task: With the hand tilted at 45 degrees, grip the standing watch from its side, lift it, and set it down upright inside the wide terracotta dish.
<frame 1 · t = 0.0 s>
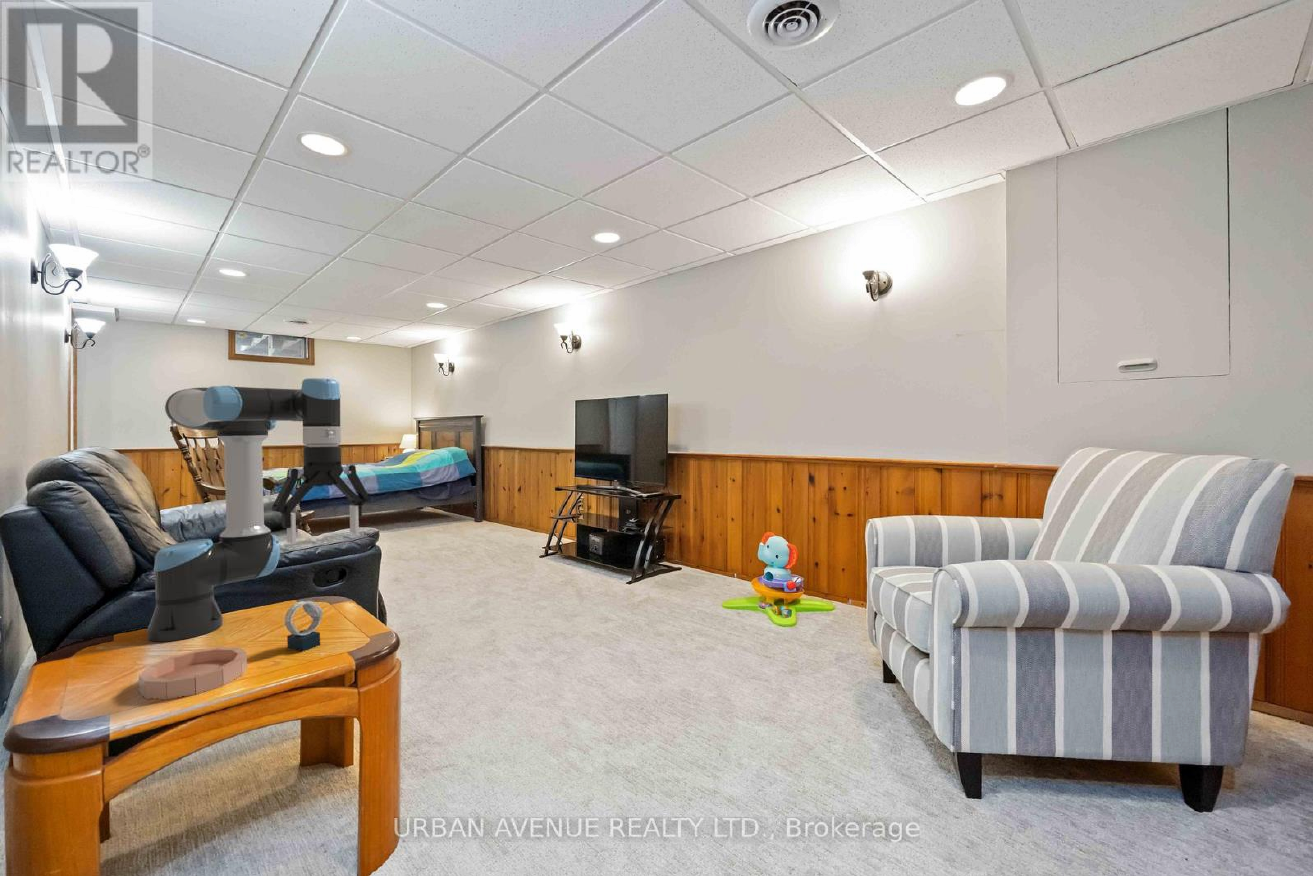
hand: (324, 537, 127), 28 cm above the table, tool pointing down, fingers open, 13 cm apart
dish: (195, 679, 117), on the table
watch: (304, 647, 134), on the table
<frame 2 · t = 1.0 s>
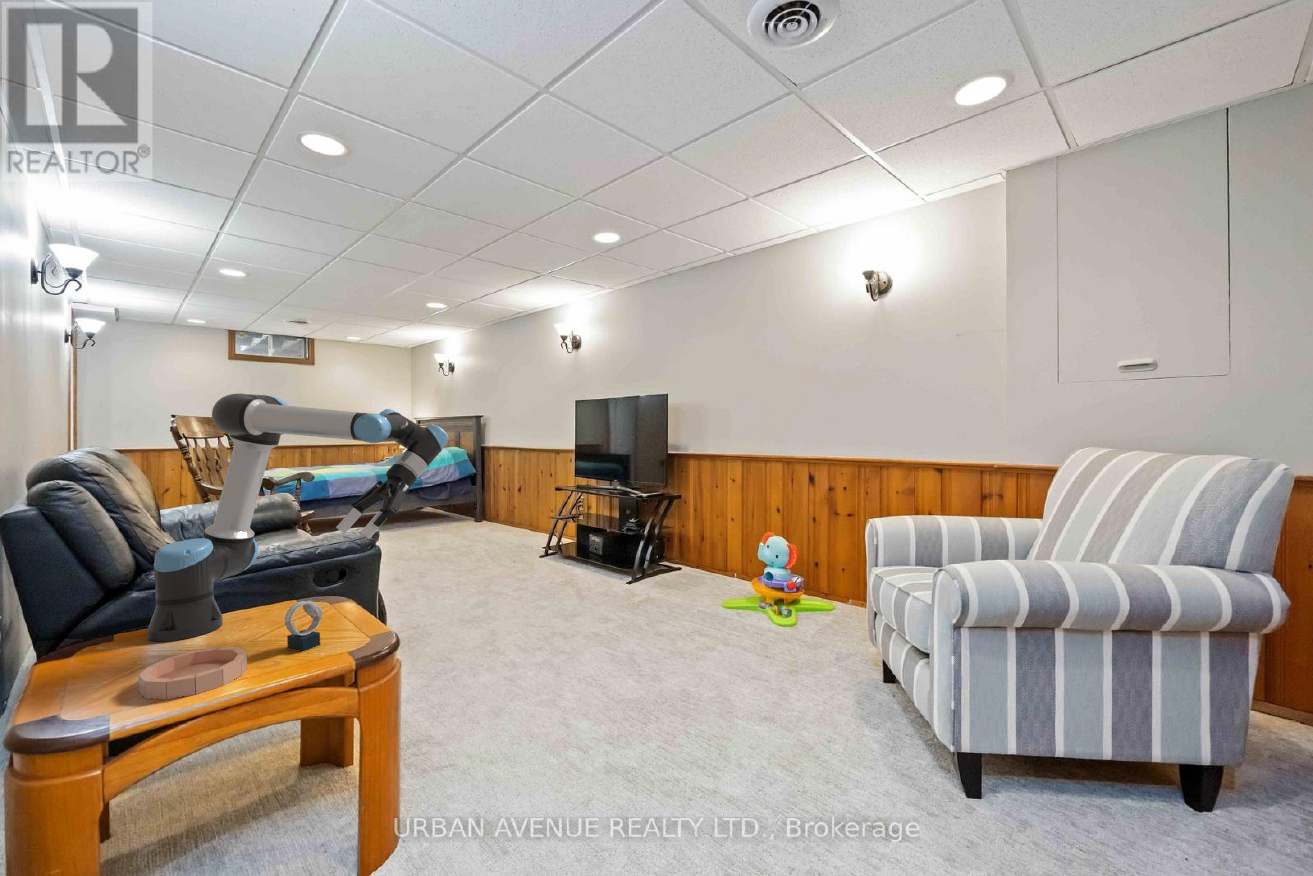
hand: (352, 533, 143), 26 cm above the table, tool tilted 45°, fingers open, 13 cm apart
nothing on the table moved.
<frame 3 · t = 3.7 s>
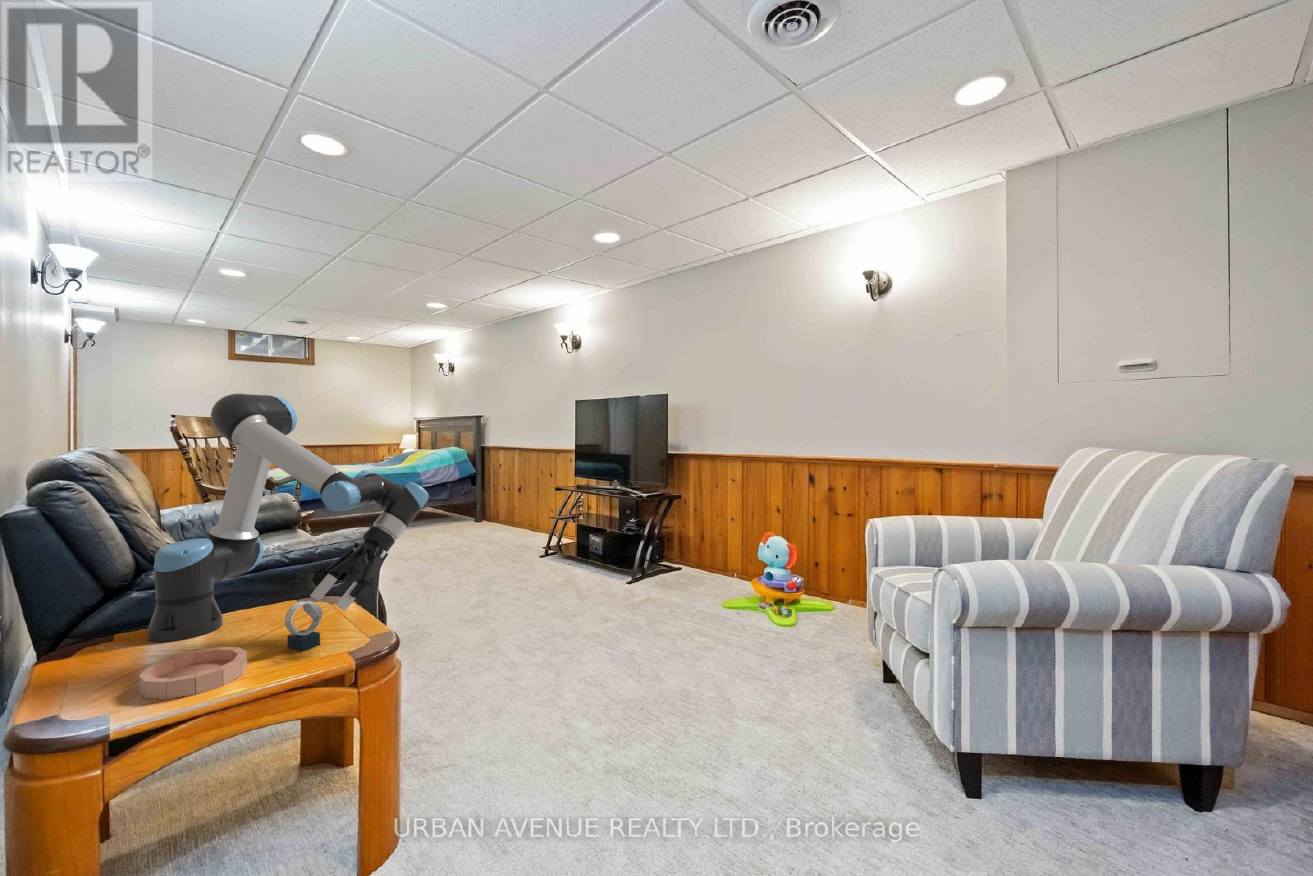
hand: (327, 603, 137), 9 cm above the table, tool tilted 45°, fingers open, 13 cm apart
nothing on the table moved.
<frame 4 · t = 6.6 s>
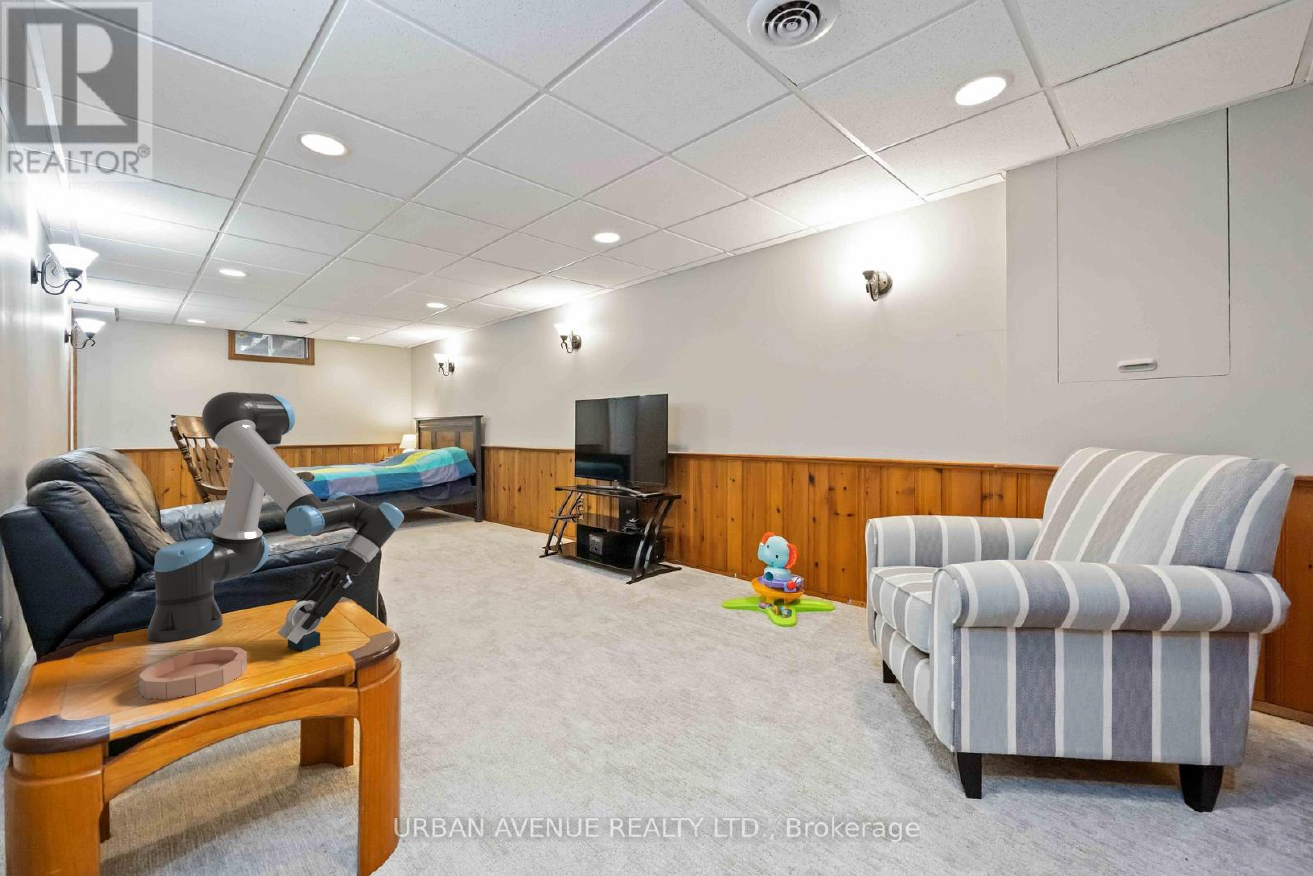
hand: (286, 638, 131), 3 cm above the table, tool tilted 45°, fingers closed on watch, 5 cm apart
watch: (304, 646, 134), on the table, touching gripper
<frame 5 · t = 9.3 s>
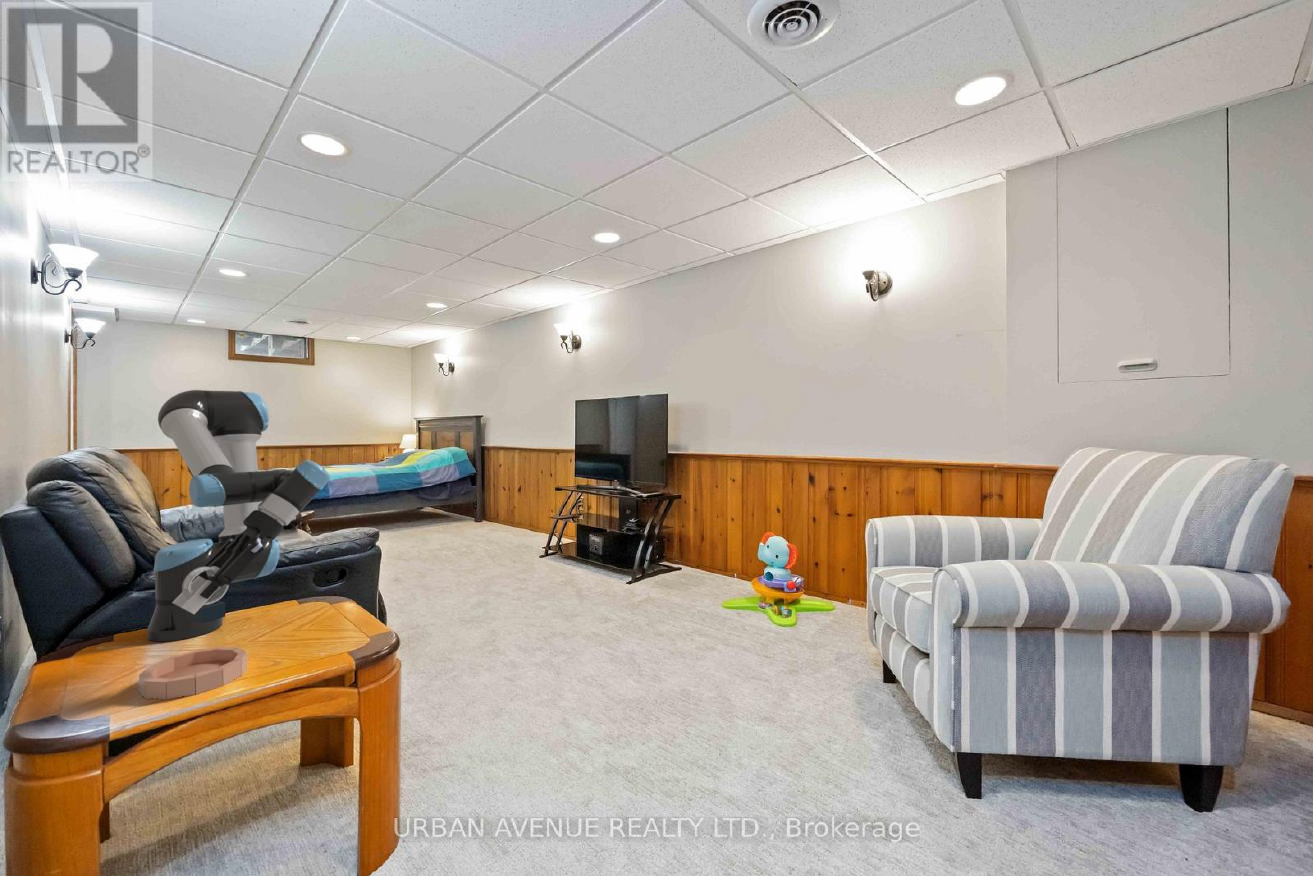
hand: (183, 608, 115), 16 cm above the table, tool tilted 45°, fingers closed on watch, 5 cm apart
watch: (206, 618, 118), point 13 cm above the table, touching gripper
when the fingers open (5 cm above the table, at t = 12.2 s): watch drops 1 cm, resting on dish.
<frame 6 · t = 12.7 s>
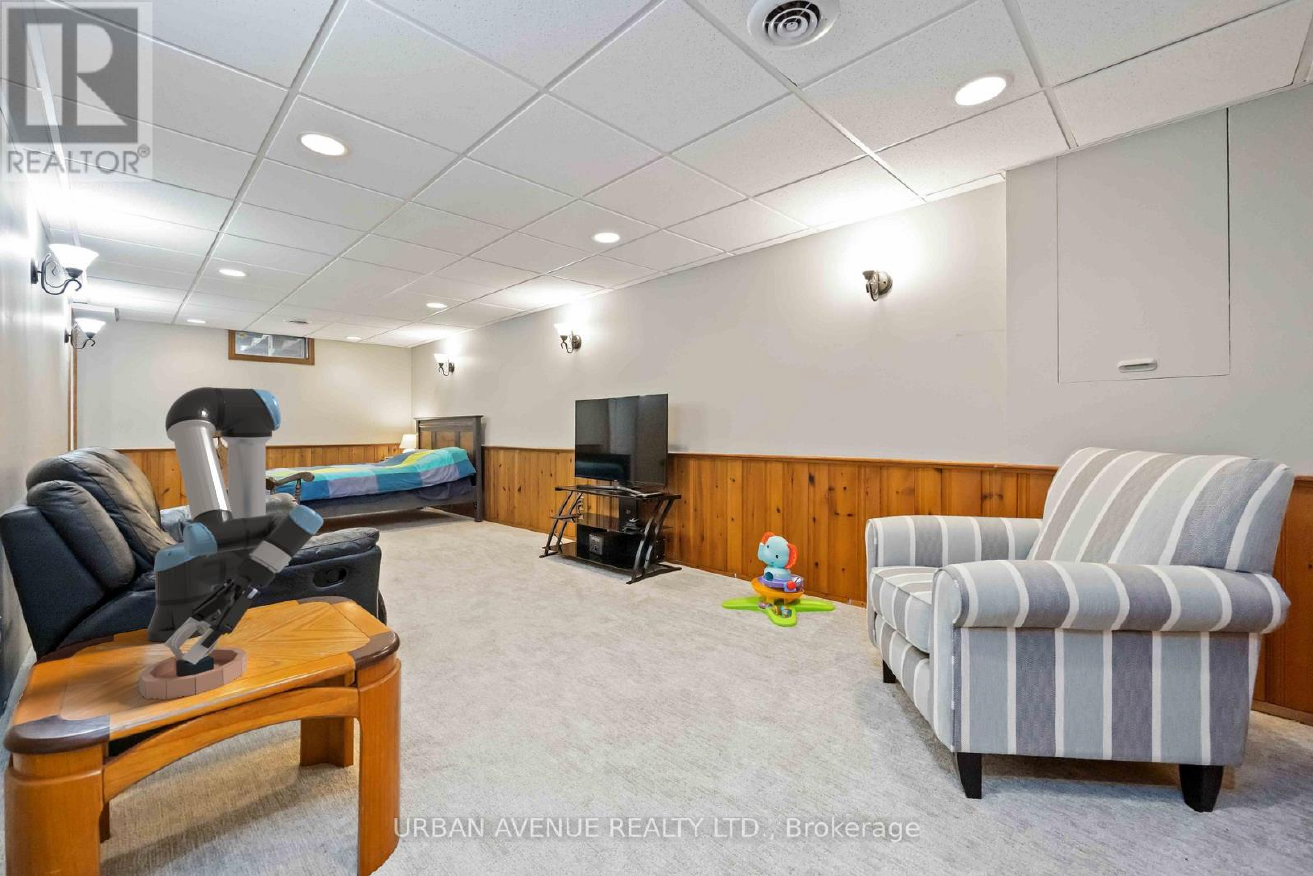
hand: (178, 654, 115), 6 cm above the table, tool tilted 45°, fingers open, 11 cm apart
watch: (195, 674, 118), point 1 cm above the table, touching dish
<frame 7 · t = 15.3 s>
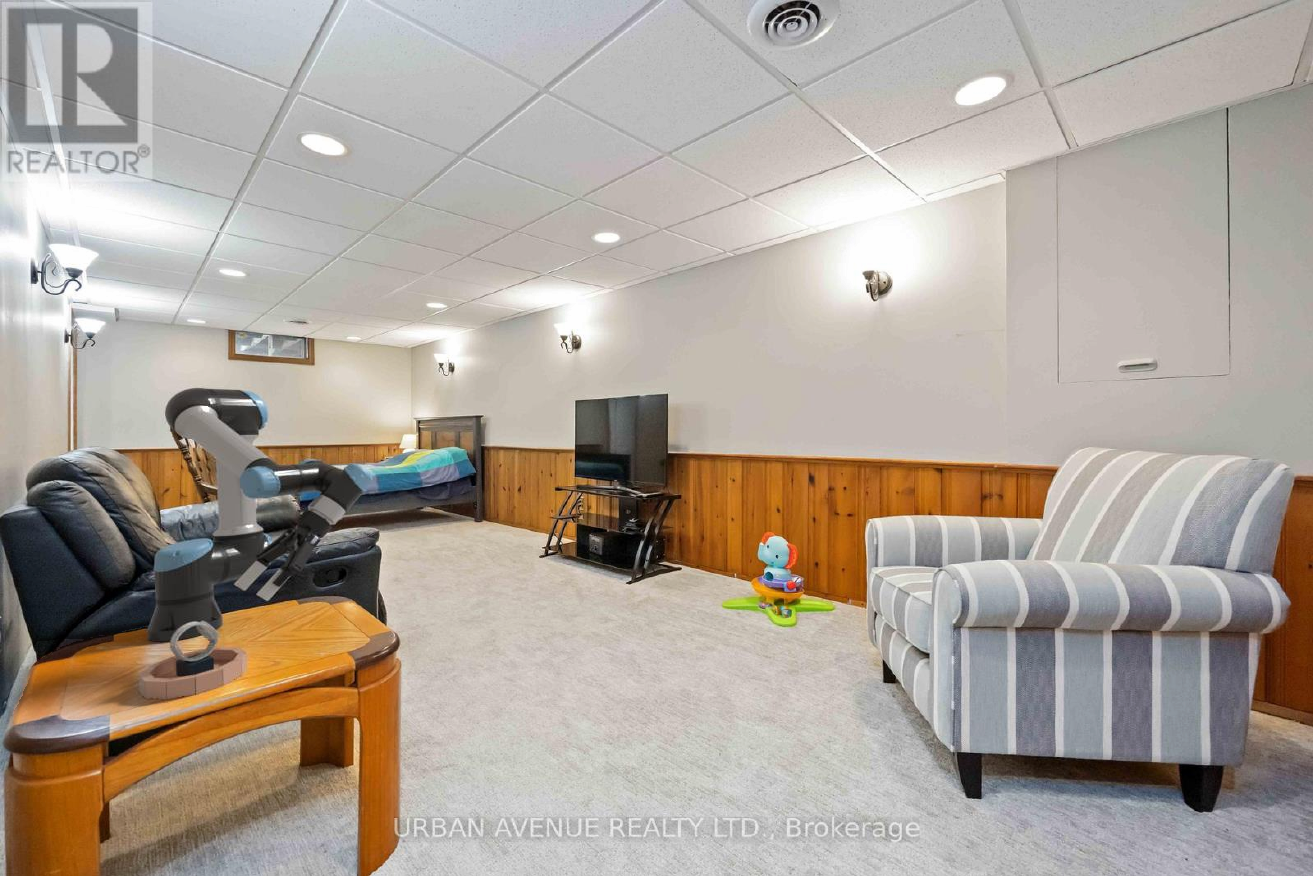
hand: (250, 592, 125), 16 cm above the table, tool tilted 45°, fingers open, 13 cm apart
nothing on the table moved.
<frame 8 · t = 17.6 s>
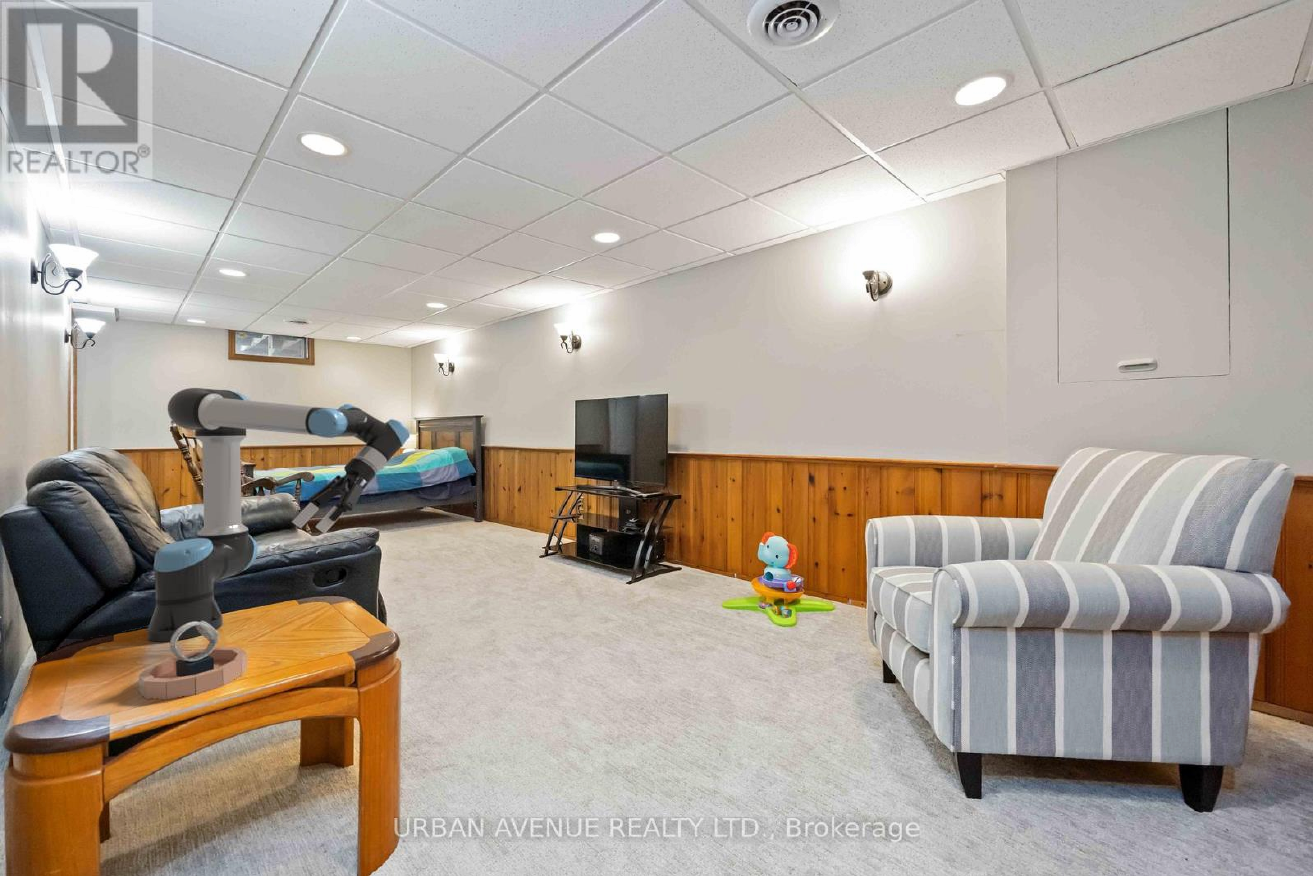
hand: (307, 527, 142), 28 cm above the table, tool tilted 45°, fingers open, 13 cm apart
nothing on the table moved.
at the end: watch 0.7 cm off-centre on the dish, point 0.8 cm above the dish's base; watch tilted 0°; the gripper is holding nothing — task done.
